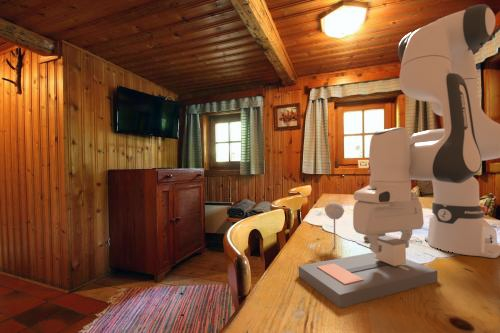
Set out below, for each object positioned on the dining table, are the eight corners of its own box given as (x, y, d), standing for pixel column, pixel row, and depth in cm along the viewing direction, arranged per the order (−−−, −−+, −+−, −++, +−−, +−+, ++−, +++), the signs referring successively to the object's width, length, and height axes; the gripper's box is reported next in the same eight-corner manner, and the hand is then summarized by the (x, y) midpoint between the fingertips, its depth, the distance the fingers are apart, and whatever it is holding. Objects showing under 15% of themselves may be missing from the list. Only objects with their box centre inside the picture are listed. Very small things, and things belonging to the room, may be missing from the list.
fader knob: (387, 256, 61) (386, 235, 61) (406, 263, 56) (405, 241, 56) (375, 258, 59) (375, 237, 59) (394, 266, 54) (393, 243, 55)
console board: (383, 259, 66) (382, 249, 66) (437, 281, 53) (437, 269, 53) (298, 276, 56) (298, 264, 56) (340, 308, 43) (339, 293, 43)
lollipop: (346, 245, 78) (345, 201, 79) (342, 250, 73) (342, 203, 74) (327, 242, 82) (326, 200, 82) (322, 247, 77) (322, 202, 77)
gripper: (405, 191, 64) (406, 241, 64) (348, 193, 57) (348, 250, 56) (430, 193, 58) (431, 248, 58) (370, 195, 51) (370, 259, 50)
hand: (390, 249), depth 57 cm, fingers open, 8 cm apart
